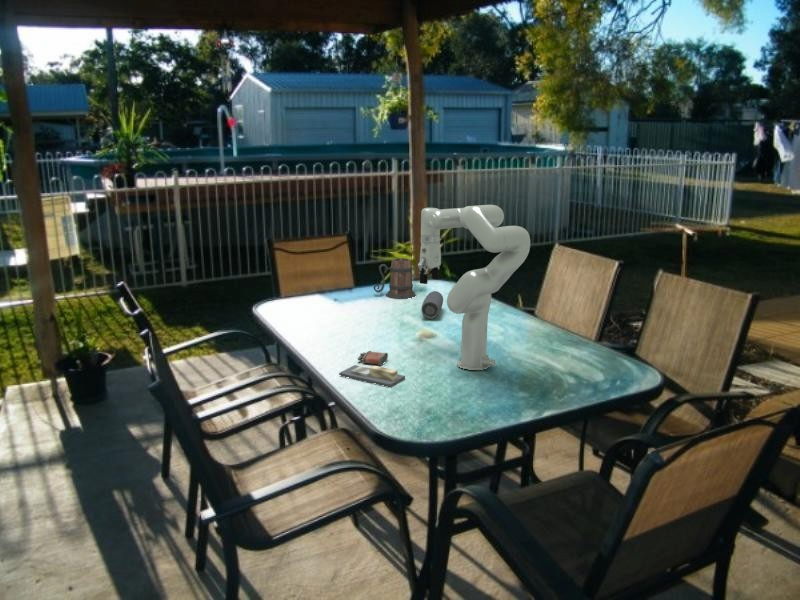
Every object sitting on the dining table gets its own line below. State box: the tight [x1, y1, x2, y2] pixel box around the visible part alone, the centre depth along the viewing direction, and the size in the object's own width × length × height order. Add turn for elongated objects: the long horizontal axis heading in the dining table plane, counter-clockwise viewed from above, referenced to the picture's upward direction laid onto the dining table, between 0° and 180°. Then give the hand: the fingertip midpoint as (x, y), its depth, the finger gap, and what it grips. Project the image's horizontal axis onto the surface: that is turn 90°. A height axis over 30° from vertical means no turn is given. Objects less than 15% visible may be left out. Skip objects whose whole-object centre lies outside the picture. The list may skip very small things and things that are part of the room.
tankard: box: [373, 257, 417, 300], centre depth 363 cm, size 24×17×20 cm
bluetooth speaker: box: [421, 290, 444, 319], centre depth 326 cm, size 23×9×10 cm, turn 171°
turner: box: [351, 365, 398, 381], centre depth 242 cm, size 17×6×3 cm, turn 60°
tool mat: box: [338, 364, 406, 388], centre depth 243 cm, size 22×10×1 cm, turn 59°
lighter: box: [357, 350, 389, 366], centre depth 259 cm, size 8×3×10 cm
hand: (429, 281), depth 270 cm, fingers open, 9 cm apart
